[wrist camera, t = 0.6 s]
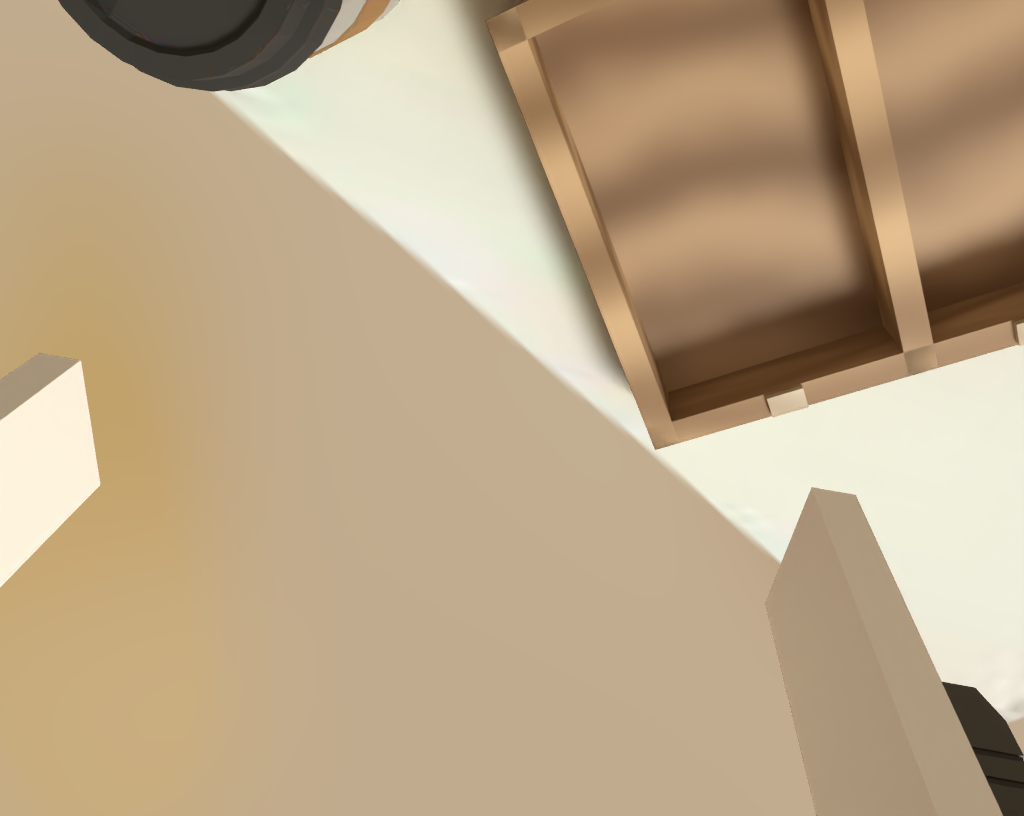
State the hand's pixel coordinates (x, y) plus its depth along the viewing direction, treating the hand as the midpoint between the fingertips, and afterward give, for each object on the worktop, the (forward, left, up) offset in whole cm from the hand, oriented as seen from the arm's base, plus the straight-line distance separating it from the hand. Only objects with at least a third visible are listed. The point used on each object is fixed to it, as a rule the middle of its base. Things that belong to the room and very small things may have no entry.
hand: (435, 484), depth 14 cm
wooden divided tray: (+3, +13, -25) cm, 28 cm away
